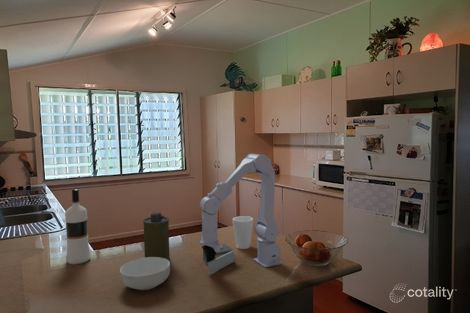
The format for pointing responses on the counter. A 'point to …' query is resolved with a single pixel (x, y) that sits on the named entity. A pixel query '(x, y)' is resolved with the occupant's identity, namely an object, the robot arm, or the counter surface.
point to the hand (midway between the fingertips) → (210, 264)
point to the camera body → (223, 250)
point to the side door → (220, 262)
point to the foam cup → (243, 231)
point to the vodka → (77, 232)
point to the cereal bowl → (145, 272)
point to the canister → (156, 236)
